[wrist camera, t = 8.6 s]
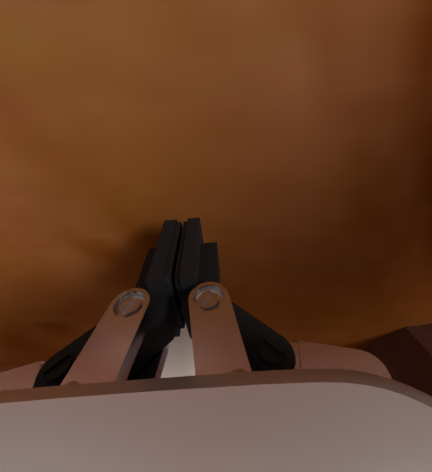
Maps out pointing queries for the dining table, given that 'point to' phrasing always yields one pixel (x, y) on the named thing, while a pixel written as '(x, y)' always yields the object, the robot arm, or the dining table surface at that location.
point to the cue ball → (180, 357)
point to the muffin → (408, 356)
